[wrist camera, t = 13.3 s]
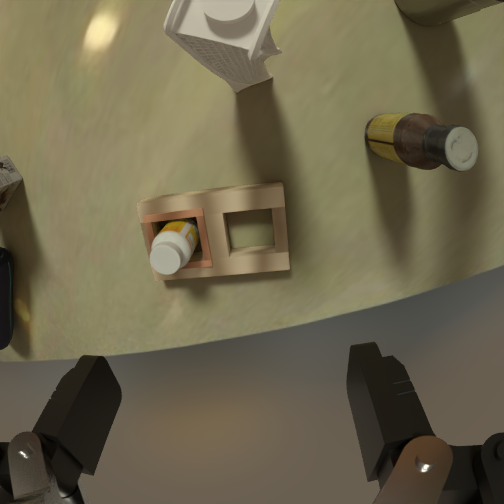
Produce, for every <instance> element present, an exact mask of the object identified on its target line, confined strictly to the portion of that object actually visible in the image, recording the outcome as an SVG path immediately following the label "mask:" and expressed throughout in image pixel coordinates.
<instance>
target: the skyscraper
mask: <svg viewBox="0 0 504 504" xmlns="http://www.w3.org/2000/svg"><path fill="white" fill-rule="evenodd" d="M279 2H280V0H173V2H172V4H171V7H170V9H169V11H168V14H167V17H166V20H165V23H164V27H163V29H164V31H165V33H166V35H168V36H169V37H170V38H171V39H173V40H174V41H175V42H176V43H177V44H178V45H180V46H181V47H182V48H183V49H184V50H185V51H187V52H188V53H189V54H190V55H191V56H192V57H194V58H195V59H196V60H197V61H199V62H200V63H201V64H202V65H203V66H205V67H206V68H207V69H209V70H210V71H211V72H213V73H214V74H216V75H217V76H219V77H220V78H222V79H224V80H225V81H226V82H227V83H228V84H229V85H230V86H231V87H232V88H233V89H234V90H235V92H236V93H238V92H239V91H240V90H243V89H245V88H247V87H249V86H251V85H253V84H257V83H261V82H263V81H266V80H268V79H270V78H272V77H273V76H272V75H270V74H269V72H268V70H267V68H266V66H265V64H264V61H265V60H266V59H267V58H268V57H270V56H271V55H277V54H280V53H282V52H281V50H280V49H279V48H277V47H276V45H275V44H274V41H273V39H272V36H271V33H270V23H271V20H272V18H273V16H274V13H275V11H276V9H277V6H278V4H279Z"/></svg>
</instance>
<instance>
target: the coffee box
mask: <svg viewBox="0 0 504 504" xmlns="http://www.w3.org/2000/svg"><path fill="white" fill-rule="evenodd" d="M22 179H23V178H22V177H21V175H20V174H19V172H18V171H17V169H16V168H15V166H14V165H13V163H12V162H11V160H10V159H9V157H8V156H7V155H6V156H3V157H0V212H1V211H2V210H4V208H5V207H6V205H7V203H8V202H9V200H10V198H11V197H12V195H13V193H14V192H15V190H16V188H17V187H18V185H19V184H20V182H21V181H22Z"/></svg>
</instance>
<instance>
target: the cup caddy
mask: <svg viewBox="0 0 504 504" xmlns="http://www.w3.org/2000/svg"><path fill="white" fill-rule="evenodd" d="M136 205H137V210H138V214H139V219H140V223H141V227H142V231H143V236H144V240H145V244H146V248H147V252H148V256H149V259H150V253H151V251H152V250H151V247H152V243H153V240H154V239H155V237H156V236H157V235H158V234H159V232H160V231H161V226H160V222H159V221H165V220H173V219H181V218H189V217H196V218H197V224H198V229H199V235H200V240H201V245H202V252H193V254H192V256H191V258H190V260H189V261H188V263H187V264H186V265H185V266H184V267H182V268H180V269H178V270H177V271H176V272H175V273H173V274H170V275H165V274H161V273H159V272H157V271H156V270H155V269H154V268H153V267H152V265H151V267H152V271H153V274H154V278H155V281H161V280H174V279H187V278H199V277H211V276H223V275H235V274H247V273H258V272H269V271H280V270H290V266H289V252H288V238H287V225H286V213H285V201H284V189H283V184H282V182H271V183H261V184H251V185H242V186H233V187H224V188H216V189H208V190H200V191H193V192H185V193H178V194H171V195H164V196H158V197H151V198H145V199H143V200H141V201H140V202H139V203H138V204H136ZM266 208H272V219H273V229H274V240H275V245H265V246H254V247H244V248H233V249H231V246H230V239H229V232H228V226H227V219H226V213H227V212H236V211H246V210H256V209H266Z"/></svg>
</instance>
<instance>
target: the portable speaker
mask: <svg viewBox="0 0 504 504" xmlns="http://www.w3.org/2000/svg"><path fill="white" fill-rule="evenodd" d="M12 292H13V261H12V257H11V255H10V253H9V252H8V250H6V249H5V248H1V247H0V350H2V349H4V348H6V347H7V346H8V345H9V343H10V341H11V339H12V333H13V310H12Z"/></svg>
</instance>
